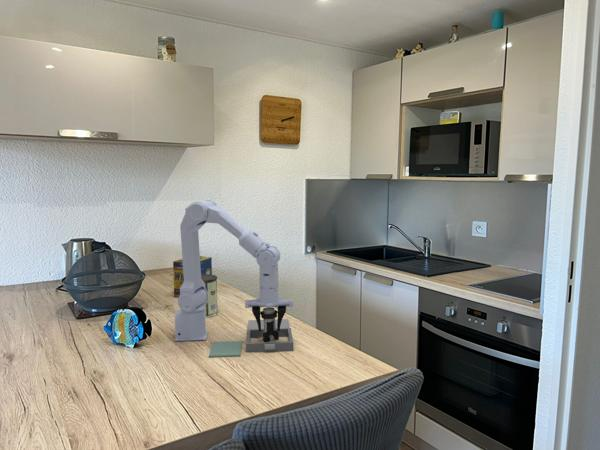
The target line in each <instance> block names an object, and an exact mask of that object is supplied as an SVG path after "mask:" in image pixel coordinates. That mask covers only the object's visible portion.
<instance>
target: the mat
mask: <svg viewBox="0 0 600 450" xmlns="http://www.w3.org/2000/svg"><path fill="white" fill-rule="evenodd" d="M242 344H243V341H242V340H229V341H226V340H225V341H223V340H222V341H212V343H211V347H210V351H209V353H208V358H232V357H233V358H236V357H238V358H239V357H241V353H242V347H243V345H242Z"/></svg>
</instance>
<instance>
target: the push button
mask: <svg viewBox="0 0 600 450" xmlns="http://www.w3.org/2000/svg"><path fill="white" fill-rule="evenodd" d="M260 318H261V319H262V320H264V331H263V333H262V337H257V339H259V340H258V342H275V341H279V340H280V337H279V333H278V332H277V331H276V327H275V319H276V318H278V309H277V310H276V309H275V307H263V308H262V311H261V310H260ZM266 320H267V322H266Z"/></svg>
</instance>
